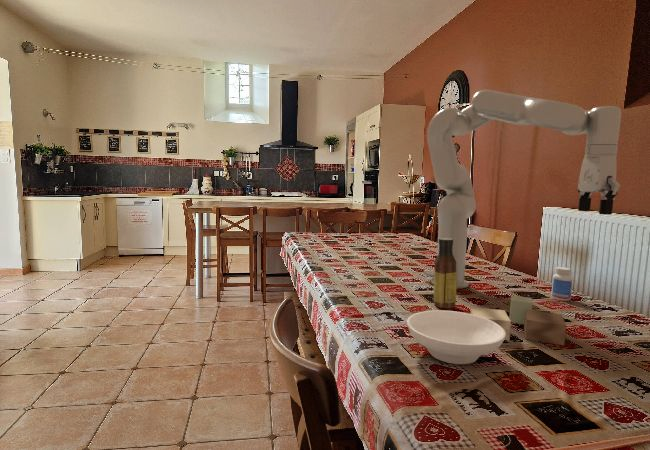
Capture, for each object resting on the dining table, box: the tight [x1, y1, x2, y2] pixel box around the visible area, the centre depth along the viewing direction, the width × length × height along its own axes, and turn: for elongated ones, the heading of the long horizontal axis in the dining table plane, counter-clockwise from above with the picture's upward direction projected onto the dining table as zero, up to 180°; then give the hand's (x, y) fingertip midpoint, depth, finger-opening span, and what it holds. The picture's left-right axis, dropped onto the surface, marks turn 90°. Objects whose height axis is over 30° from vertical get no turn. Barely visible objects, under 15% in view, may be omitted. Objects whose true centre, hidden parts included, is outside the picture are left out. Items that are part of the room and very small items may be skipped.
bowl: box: [406, 309, 506, 365], centre depth 86 cm, size 20×20×7 cm
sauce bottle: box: [433, 238, 457, 310], centre depth 119 cm, size 7×6×20 cm
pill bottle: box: [550, 266, 573, 302], centre depth 130 cm, size 6×5×10 cm
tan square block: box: [523, 309, 567, 346], centre depth 99 cm, size 8×8×5 cm
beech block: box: [469, 306, 512, 342], centre depth 100 cm, size 8×8×5 cm
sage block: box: [508, 295, 533, 325], centre depth 109 cm, size 5×5×6 cm
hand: (594, 212), depth 118 cm, fingers open, 9 cm apart
